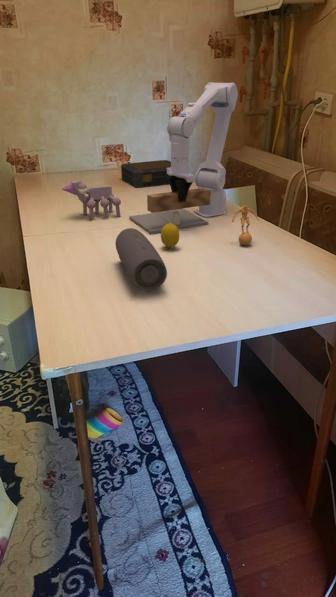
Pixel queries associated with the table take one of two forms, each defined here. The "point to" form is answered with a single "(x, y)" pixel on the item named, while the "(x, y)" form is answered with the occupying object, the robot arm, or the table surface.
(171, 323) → the table surface
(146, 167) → the cash box
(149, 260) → the bluetooth speaker
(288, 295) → the table surface
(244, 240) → the figurine
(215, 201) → the robot arm
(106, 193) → the purple toy animal
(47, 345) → the table surface
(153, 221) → the fulcrum stand
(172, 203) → the walnut beam
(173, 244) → the lemon
